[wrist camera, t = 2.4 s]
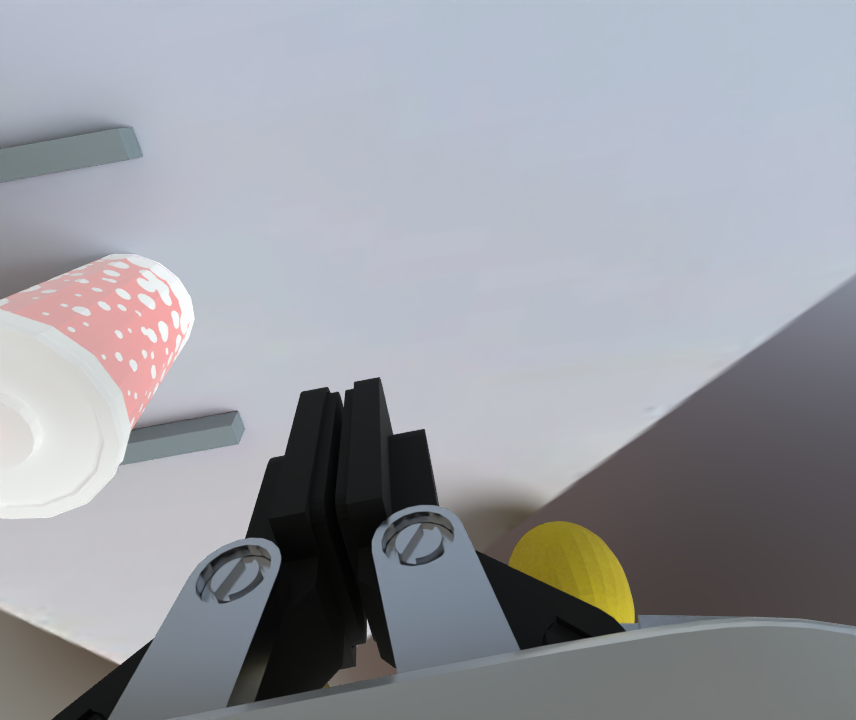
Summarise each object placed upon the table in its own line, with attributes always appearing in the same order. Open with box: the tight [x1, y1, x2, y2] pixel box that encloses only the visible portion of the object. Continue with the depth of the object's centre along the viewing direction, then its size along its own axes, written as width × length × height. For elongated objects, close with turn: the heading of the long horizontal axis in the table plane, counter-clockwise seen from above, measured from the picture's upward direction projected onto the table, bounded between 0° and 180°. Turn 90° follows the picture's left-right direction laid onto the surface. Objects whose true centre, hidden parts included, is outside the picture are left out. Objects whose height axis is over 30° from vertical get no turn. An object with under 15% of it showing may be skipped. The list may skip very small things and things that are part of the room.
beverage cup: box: [0, 254, 195, 519], centre depth 16 cm, size 6×6×14 cm
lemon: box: [508, 521, 634, 623], centre depth 25 cm, size 6×6×8 cm
